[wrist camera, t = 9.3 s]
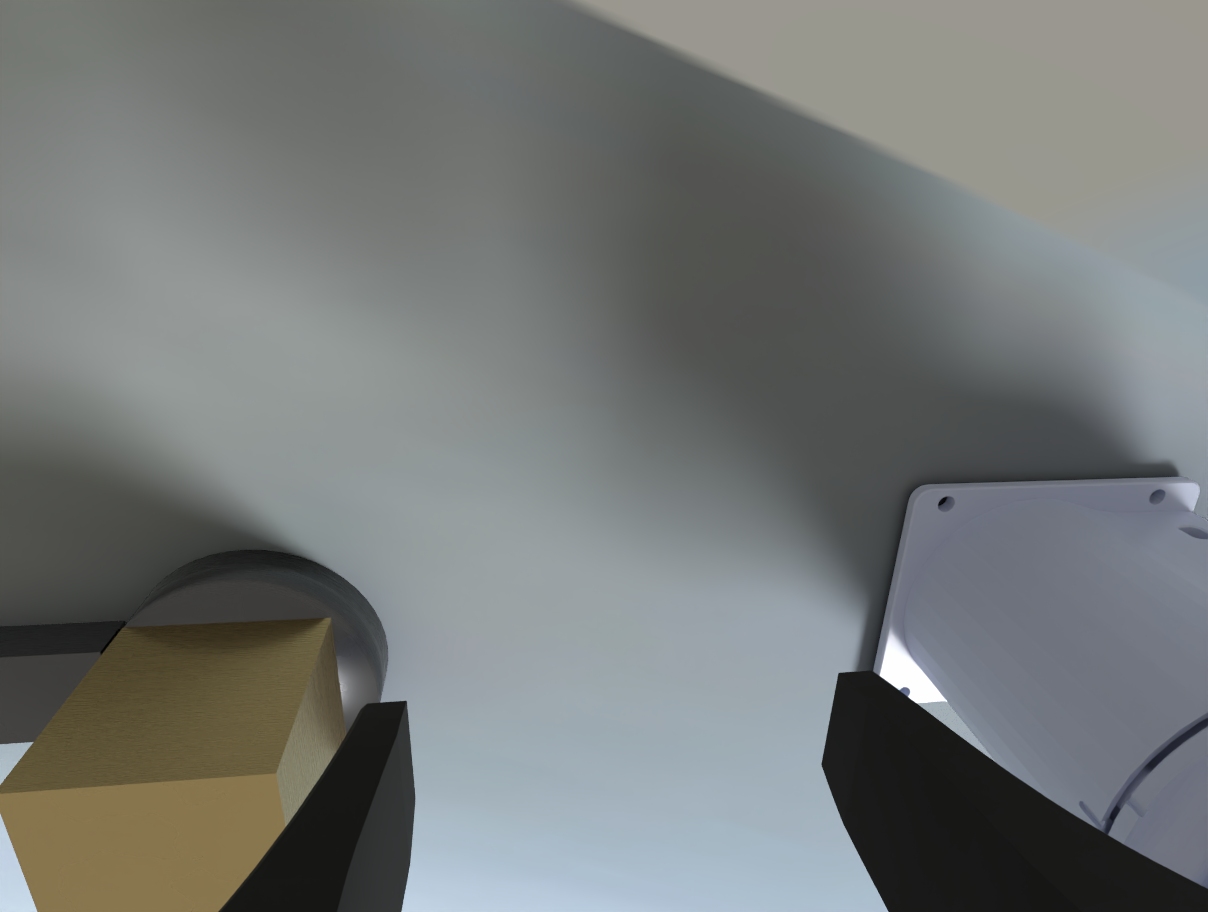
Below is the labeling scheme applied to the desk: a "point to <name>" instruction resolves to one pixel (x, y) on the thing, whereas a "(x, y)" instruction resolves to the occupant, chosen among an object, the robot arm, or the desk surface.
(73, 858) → the brushed gold cube
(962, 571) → the robot arm
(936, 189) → the desk surface
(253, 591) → the ratchet
